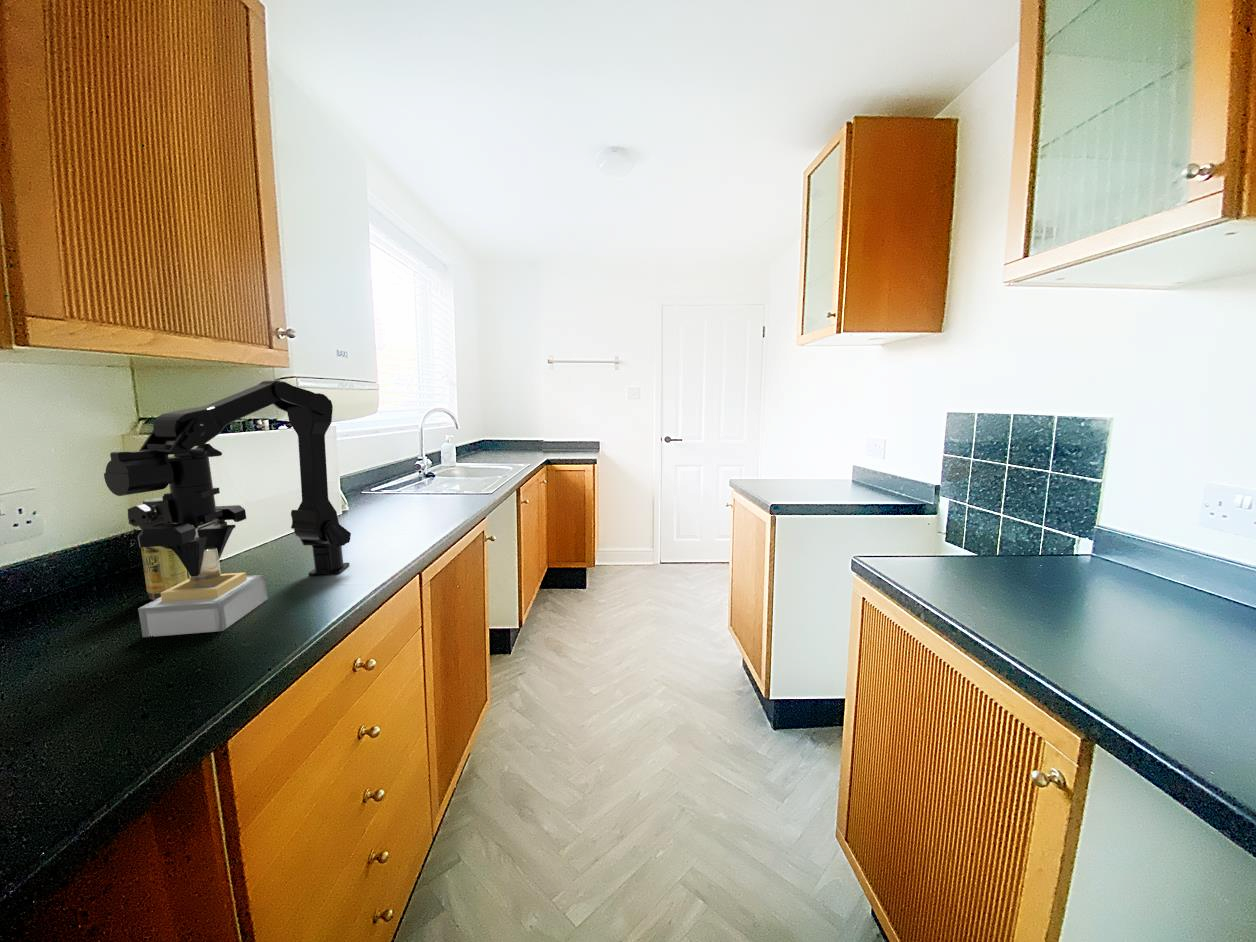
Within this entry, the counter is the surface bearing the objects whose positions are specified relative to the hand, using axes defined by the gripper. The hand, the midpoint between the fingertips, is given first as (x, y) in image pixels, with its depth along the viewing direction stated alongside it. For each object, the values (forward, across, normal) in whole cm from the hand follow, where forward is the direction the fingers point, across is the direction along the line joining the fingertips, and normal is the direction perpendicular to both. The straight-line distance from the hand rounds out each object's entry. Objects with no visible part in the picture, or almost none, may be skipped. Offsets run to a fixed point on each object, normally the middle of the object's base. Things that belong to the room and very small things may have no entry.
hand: (204, 571), depth 91 cm
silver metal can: (+1, 0, 0) cm, 1 cm away
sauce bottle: (+9, -13, -15) cm, 22 cm away
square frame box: (+8, 0, 0) cm, 9 cm away
